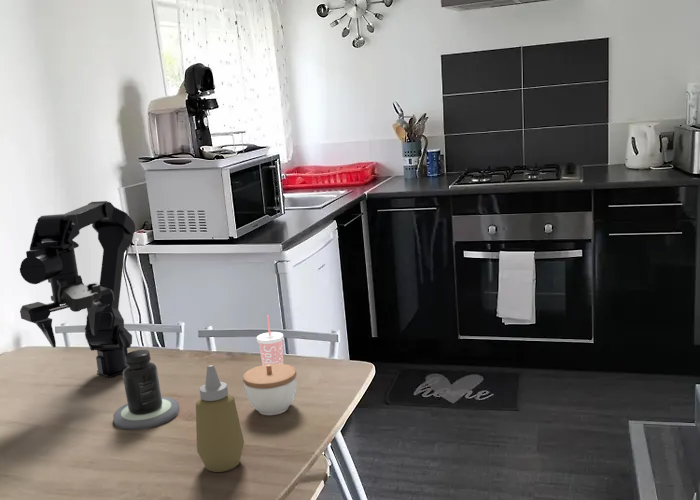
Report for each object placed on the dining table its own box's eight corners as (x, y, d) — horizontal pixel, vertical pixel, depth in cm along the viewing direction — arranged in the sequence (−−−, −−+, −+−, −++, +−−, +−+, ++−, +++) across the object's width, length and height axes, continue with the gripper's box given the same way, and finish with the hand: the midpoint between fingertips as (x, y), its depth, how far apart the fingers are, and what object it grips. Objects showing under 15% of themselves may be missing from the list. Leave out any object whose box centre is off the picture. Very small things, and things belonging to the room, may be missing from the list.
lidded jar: (308, 410, 137) (304, 366, 135) (259, 425, 132) (254, 380, 130) (285, 393, 146) (281, 352, 144) (238, 407, 141) (233, 364, 139)
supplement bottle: (166, 400, 144) (158, 346, 142) (158, 414, 137) (150, 357, 135) (133, 403, 144) (125, 348, 142) (124, 417, 137) (115, 360, 135)
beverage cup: (255, 376, 157) (249, 318, 154) (268, 367, 162) (262, 310, 160) (279, 379, 155) (272, 319, 152) (291, 369, 160) (285, 311, 157)
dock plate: (158, 396, 150) (157, 390, 149) (191, 411, 141) (191, 404, 141) (102, 418, 141) (101, 412, 140) (134, 435, 132) (133, 429, 131)
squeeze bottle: (202, 455, 122) (189, 360, 118) (247, 450, 122) (236, 355, 119) (196, 479, 114) (182, 377, 110) (244, 473, 115) (232, 372, 111)
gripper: (35, 286, 136) (48, 361, 139) (121, 266, 149) (131, 335, 152) (13, 280, 143) (26, 351, 147) (97, 261, 157) (107, 327, 160)
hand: (74, 340), depth 151 cm, fingers open, 9 cm apart
